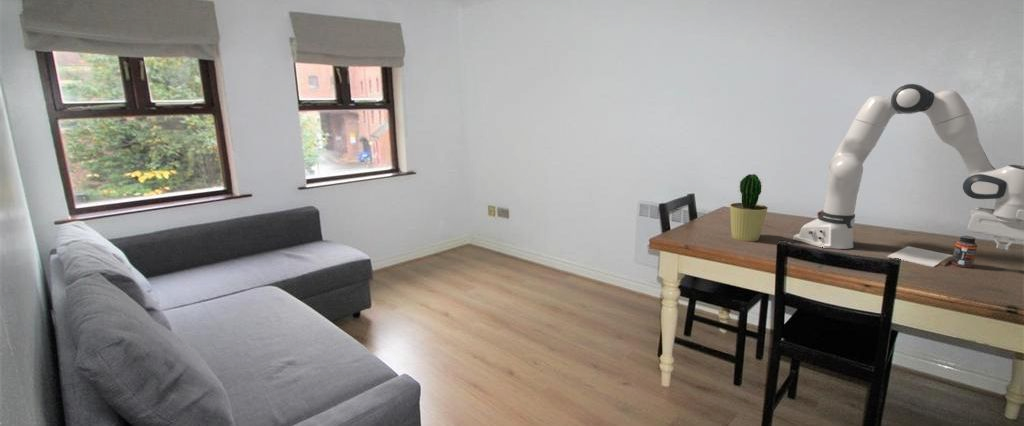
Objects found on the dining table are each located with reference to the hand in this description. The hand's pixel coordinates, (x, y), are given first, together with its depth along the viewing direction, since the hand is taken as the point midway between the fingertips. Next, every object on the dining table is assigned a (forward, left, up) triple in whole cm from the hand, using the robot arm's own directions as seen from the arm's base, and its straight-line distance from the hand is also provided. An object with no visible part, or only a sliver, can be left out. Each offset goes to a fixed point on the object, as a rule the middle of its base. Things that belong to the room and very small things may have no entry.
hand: (1001, 249), depth 173 cm
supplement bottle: (-10, 0, -9) cm, 13 cm away
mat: (-22, 0, -9) cm, 24 cm away
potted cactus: (-78, -31, -9) cm, 84 cm away
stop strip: (-14, 0, -9) cm, 17 cm away
